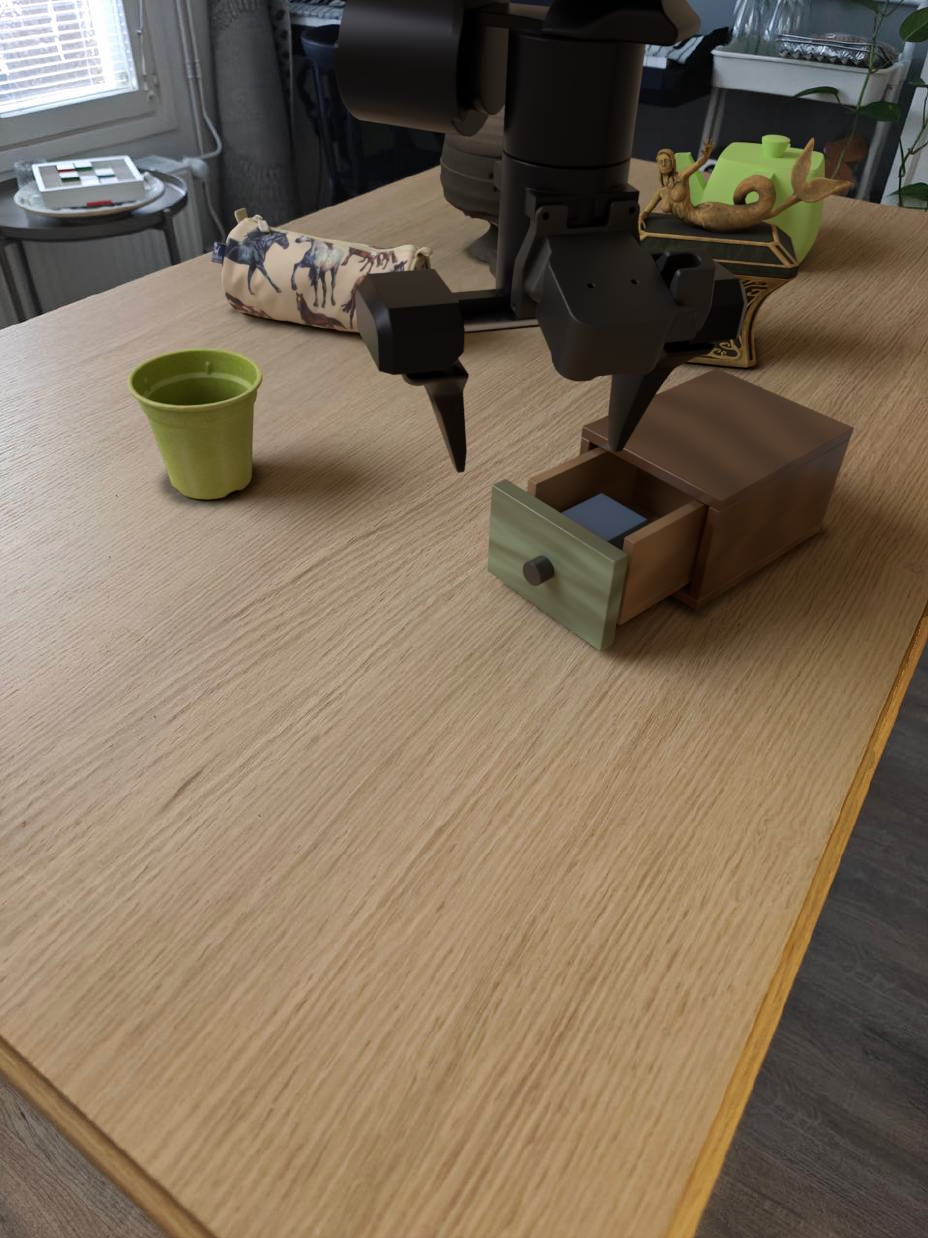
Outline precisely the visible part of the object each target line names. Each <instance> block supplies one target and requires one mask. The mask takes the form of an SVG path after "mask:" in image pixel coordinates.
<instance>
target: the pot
mask: <svg viewBox="0 0 928 1238" xmlns="http://www.w3.org/2000/svg"><path fill="white" fill-rule="evenodd" d="M504 112H505V105H504V106H503V108H502V109H501V111H500V112H498V113H497V114H496V115H489V117H488V119H487V120H486V122H485V124H484V125H483V127H482V128H481V129H480V130H479V131H478V132H477V133H476V134H475V135H473V136H471V137H467V136H459V135H453V134H446V133H444V134H445V135H444V141H443V145H442V152H441V156H440V158H439V164H440V173H439V180H440V184H441V186H442V192H443V193H442V194H443V197H444V199H445V200H446V202H447V203H449V204H450V205H451V206H452V207H453V208H455V209H457V210H459V211H460V212H462V213H463V215H464V216H465V217H469V218H471V219H472V220H473V219H478V220H483V221H485V222H488V223H489V228H488V230H487V231H486V232H485V233H484V234H483V235H481V236H479V237H478V238H476V239H475V240H474V241H473V243H472V246H471V247H470V251H471V254H472V255H473V257H475V259H478V260H480V261H481V262H486V263H488V264H490V251H493V250H497V248H498V228H499V209H500V190H499V189H498V188H497V187H496V186H495V185H494V184H493V180H494V161H502V151H503V131H504Z"/></svg>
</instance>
